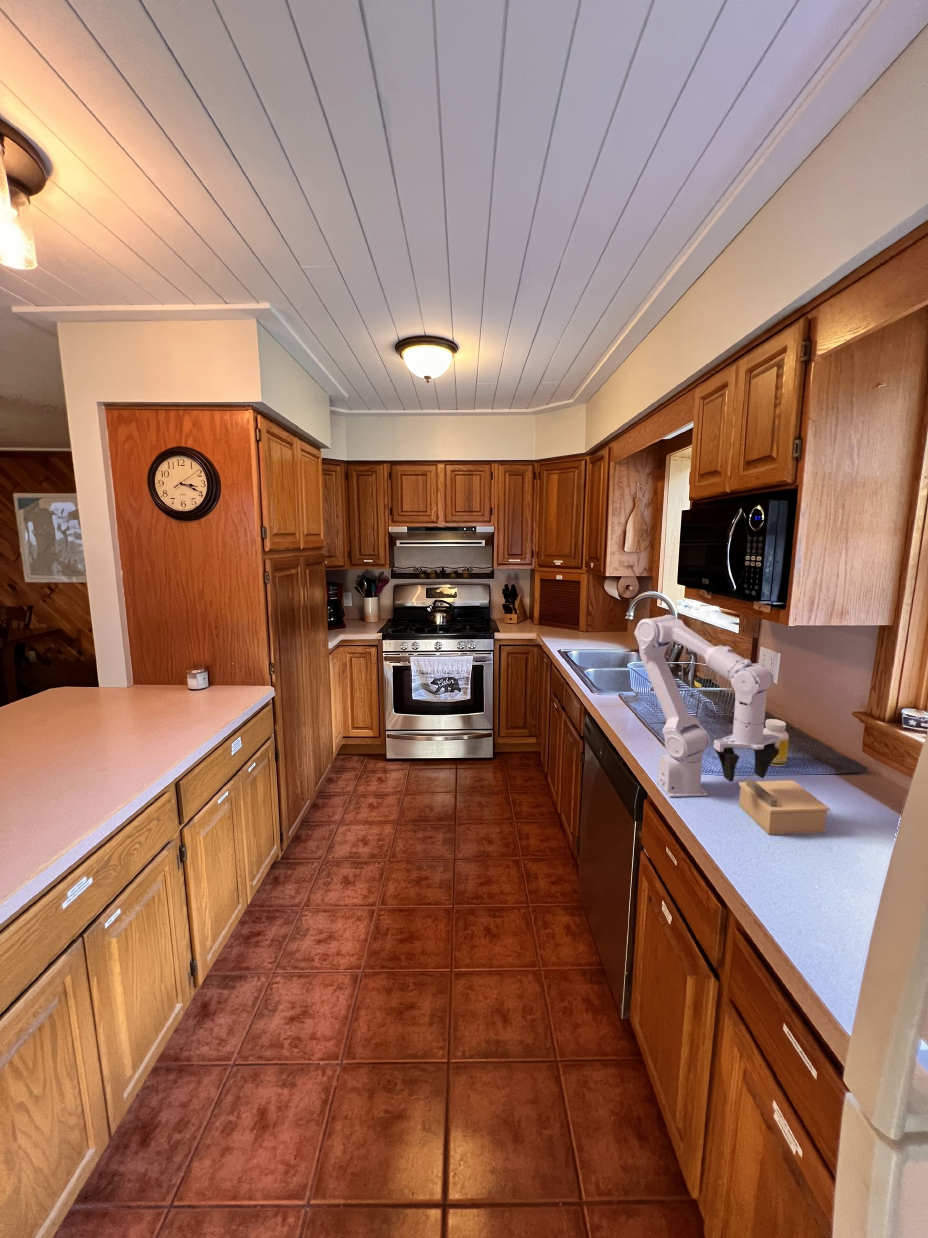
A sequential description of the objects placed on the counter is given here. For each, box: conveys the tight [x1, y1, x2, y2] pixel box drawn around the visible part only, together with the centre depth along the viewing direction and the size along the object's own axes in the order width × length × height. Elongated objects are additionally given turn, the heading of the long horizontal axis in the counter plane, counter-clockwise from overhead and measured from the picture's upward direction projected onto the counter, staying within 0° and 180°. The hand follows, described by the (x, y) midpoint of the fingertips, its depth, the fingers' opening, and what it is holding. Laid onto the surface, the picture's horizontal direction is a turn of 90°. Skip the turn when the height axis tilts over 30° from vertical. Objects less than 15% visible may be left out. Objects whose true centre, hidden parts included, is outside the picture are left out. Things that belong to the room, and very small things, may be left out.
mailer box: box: [738, 786, 828, 836], centre depth 110 cm, size 12×11×5 cm
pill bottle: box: [763, 718, 790, 768], centre depth 135 cm, size 6×6×12 cm
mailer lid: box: [738, 778, 831, 813], centre depth 109 cm, size 13×12×2 cm
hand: (744, 777), depth 110 cm, fingers open, 7 cm apart
